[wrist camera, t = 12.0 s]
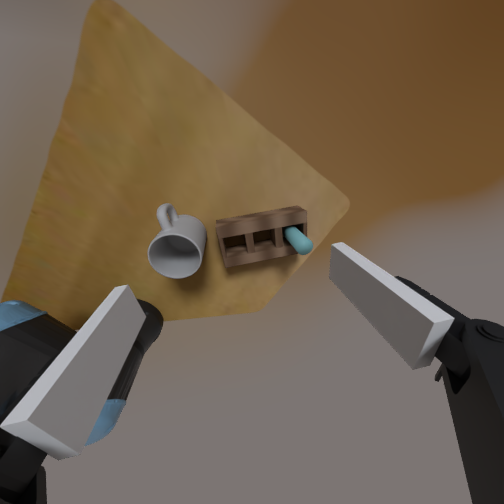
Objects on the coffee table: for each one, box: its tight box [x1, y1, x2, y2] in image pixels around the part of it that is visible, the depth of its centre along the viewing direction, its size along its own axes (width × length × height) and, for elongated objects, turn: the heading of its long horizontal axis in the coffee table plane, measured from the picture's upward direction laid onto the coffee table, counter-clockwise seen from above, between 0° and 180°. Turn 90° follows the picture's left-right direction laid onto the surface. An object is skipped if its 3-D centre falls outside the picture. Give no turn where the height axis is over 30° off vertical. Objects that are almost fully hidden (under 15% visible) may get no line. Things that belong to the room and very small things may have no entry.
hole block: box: [216, 206, 307, 268], centre depth 40 cm, size 18×9×5 cm, turn 99°
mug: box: [148, 203, 207, 279], centre depth 34 cm, size 12×8×11 cm
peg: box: [282, 225, 313, 255], centre depth 37 cm, size 3×3×11 cm
